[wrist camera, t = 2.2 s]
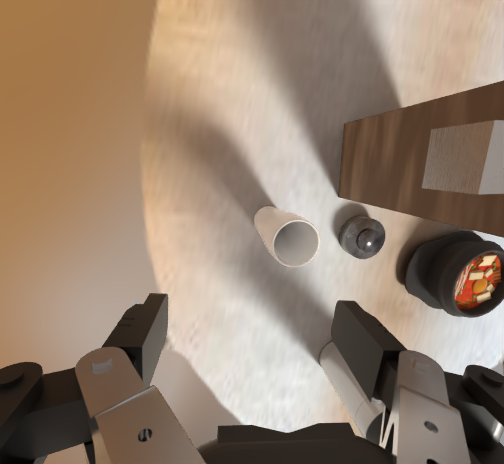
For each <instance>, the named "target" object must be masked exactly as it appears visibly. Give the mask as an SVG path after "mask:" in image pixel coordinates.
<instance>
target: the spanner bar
mask: <svg viewBox="0 0 504 464" xmlns="http://www.w3.org/2000/svg"><path fill="white" fill-rule="evenodd" d="M422 188H425V189H434V190H443V191H452V192H461V193H469V194H504V120H493V121H486V122H479V123H472V124H465V125H458V126H451V127H445V128H438V129H431V135H430V141H429V147H428V153H427V159H426V165H425V171H424V177H423V183H422Z"/></svg>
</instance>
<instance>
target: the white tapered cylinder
mask: <svg viewBox="0 0 504 464" xmlns="http://www.w3.org/2000/svg"><path fill="white" fill-rule="evenodd" d="M254 225H255V228H256V229H257V231H258V232H259V234H260V236H261V238H262V240H263V242H264V244H265V246H266V248H267V249H268V251H269V252H270V254H271V255H272V256H273V257H274V258H275V259H276V260H277V261H278V262H279V263H280V264H282V265H284V266H286V267H300V266H303V265H305V264H307V263H308V262H310V261H311V260H312V259H313V258H314V256H315V255H316V253H317V251H318V249H319V244H320V237H319V233H318V231H317V229H316V227H315V226H314V225H313V224H312V223H310V222H309V221H307V220H306V219H304V218H303V217H301V216H299V215H296V214H294V213H291V212H287V211H283V210H280V209H277V208H275V207H272V206H266V207H263V208H261V209H260V210H258V212H257V213H256V215H255V217H254Z"/></svg>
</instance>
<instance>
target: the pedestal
mask: <svg viewBox="0 0 504 464" xmlns="http://www.w3.org/2000/svg"><path fill="white" fill-rule="evenodd" d="M493 120H504V81H501V82H497V83H493V84H490V85H486V86H482V87H478V88H475V89H471V90H467V91H464V92H460V93H456V94H453V95H449V96H445V97H442V98H438V99H434V100H430V101H427V102H423V103H419V104H416V105H412V106H408V107H405V108H401V109H397V110H394V111H390V112H386V113H383V114H379V115H375V116H371V117H368V118H364V119H360V120H357V121H353V122H349V123H346V124H344V134H343V146H342V158H341V170H340V182H339V194H338V197H340V198H344V199H348V200H352V201H356V202H360V203H364V204H368V205H373V206H377V207H381V208H385V209H389V210H393V211H397V212H401V213H405V214H409V215H413V216H418V217H422V218H426V219H430V220H434V221H438V222H442V223H446V224H450V225H454V226H458V227H462V228H467V229H471V230H475V231H479V232H483V233H487V234H491V235H495V236H499V237H503V238H504V194H469V193H461V192H452V191H443V190H434V189H425V188H422V183H423V177H424V171H425V165H426V159H427V153H428V147H429V141H430V135H431V129H438V128H445V127H451V126H458V125H465V124H472V123H479V122H486V121H493Z"/></svg>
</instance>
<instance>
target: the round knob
mask: <svg viewBox="0 0 504 464" xmlns="http://www.w3.org/2000/svg"><path fill="white" fill-rule="evenodd" d="M384 241H385V230H384V227H383V226H382V224H381V223H380V222H379V221H377V220H374V219H371V218H368V217H365V216H355V217H353V218H351V219H349V220H348V221H347V222H346V223H345V224H344V225H343V227H342V228H341V231H340V234H339V242H340V245H341V247H342V248H343V249H344V250H345V251H346V252H347V253H349V254H351V255H352V256H354V257H356V258H359V259H367V258H370V257H372V256H374V255H375V254H377V253H378V252H379V250H380V249H381V248H382V246H383V244H384Z"/></svg>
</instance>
